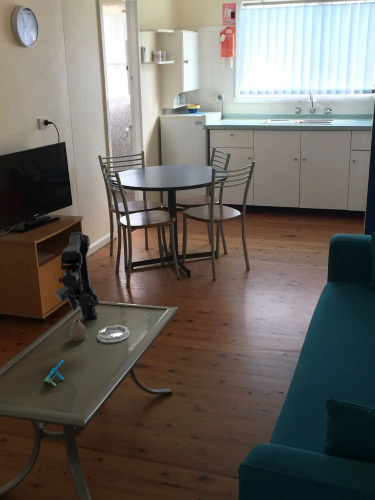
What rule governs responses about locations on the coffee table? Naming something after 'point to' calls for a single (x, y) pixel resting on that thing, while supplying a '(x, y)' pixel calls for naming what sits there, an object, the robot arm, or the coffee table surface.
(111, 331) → the rosette plate
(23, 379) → the coffee table surface
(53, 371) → the blue green rod structure
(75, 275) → the robot arm
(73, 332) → the vase
